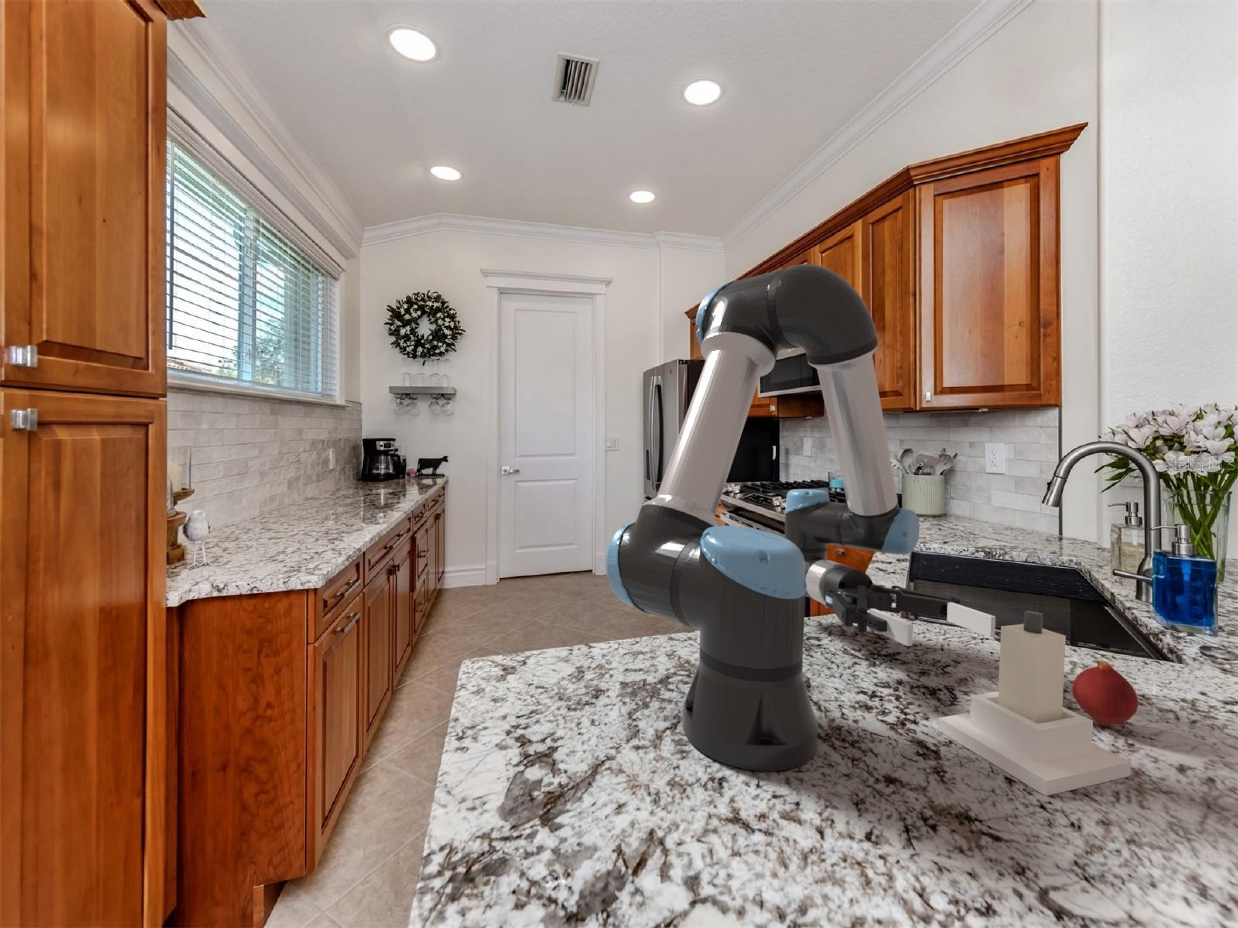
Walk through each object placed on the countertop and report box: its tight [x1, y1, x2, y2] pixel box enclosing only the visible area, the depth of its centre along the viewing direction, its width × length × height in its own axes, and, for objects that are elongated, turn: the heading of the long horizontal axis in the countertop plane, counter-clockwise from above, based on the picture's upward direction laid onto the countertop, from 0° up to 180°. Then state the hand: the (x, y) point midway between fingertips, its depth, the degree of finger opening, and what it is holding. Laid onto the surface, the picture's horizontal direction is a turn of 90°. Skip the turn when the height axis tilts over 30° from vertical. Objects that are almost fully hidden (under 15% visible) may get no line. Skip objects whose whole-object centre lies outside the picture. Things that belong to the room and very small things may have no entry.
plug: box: [998, 610, 1067, 724], centre depth 57 cm, size 4×4×14 cm
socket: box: [937, 691, 1132, 797], centre depth 57 cm, size 12×12×5 cm
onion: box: [1071, 660, 1139, 727], centre depth 63 cm, size 6×6×8 cm
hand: (953, 631), depth 66 cm, fingers open, 13 cm apart
